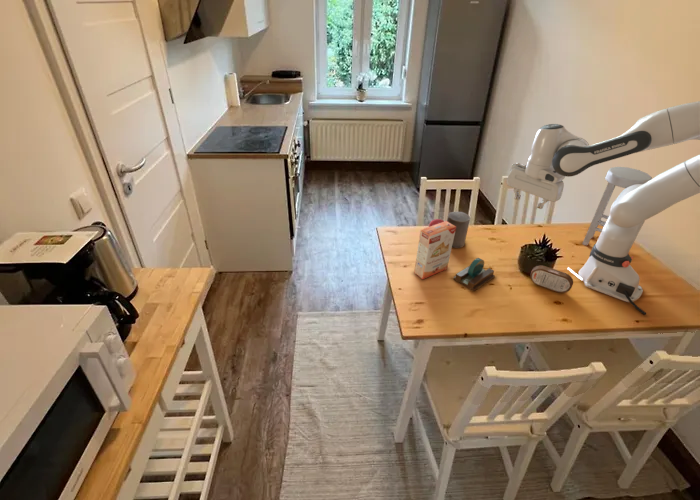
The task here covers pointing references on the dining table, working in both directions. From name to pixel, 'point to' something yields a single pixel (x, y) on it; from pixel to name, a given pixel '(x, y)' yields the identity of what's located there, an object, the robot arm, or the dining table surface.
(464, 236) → the pillar candle
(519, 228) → the dining table surface
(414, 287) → the dining table surface
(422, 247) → the cracker box
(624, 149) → the robot arm
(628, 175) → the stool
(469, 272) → the disc
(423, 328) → the dining table surface
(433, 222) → the lollipop
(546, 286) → the tin
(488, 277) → the stand
